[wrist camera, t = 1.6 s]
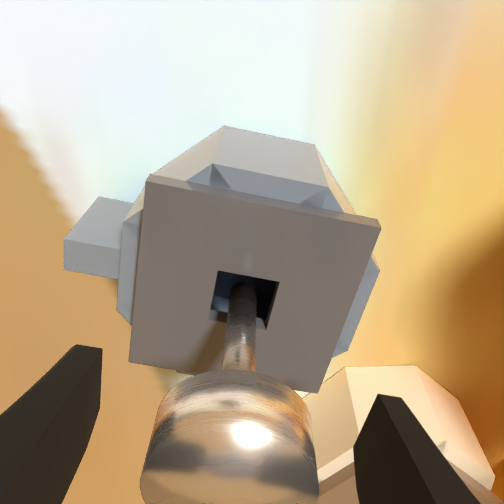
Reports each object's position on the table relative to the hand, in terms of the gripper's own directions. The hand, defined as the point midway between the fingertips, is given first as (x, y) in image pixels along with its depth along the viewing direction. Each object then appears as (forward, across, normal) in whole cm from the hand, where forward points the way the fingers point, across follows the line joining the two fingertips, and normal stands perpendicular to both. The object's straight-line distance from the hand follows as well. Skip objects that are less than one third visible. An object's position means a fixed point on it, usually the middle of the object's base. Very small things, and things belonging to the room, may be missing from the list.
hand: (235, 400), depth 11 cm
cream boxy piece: (+9, -9, +10) cm, 16 cm away
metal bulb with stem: (+5, 0, 0) cm, 5 cm away
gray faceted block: (+9, 0, 0) cm, 9 cm away
